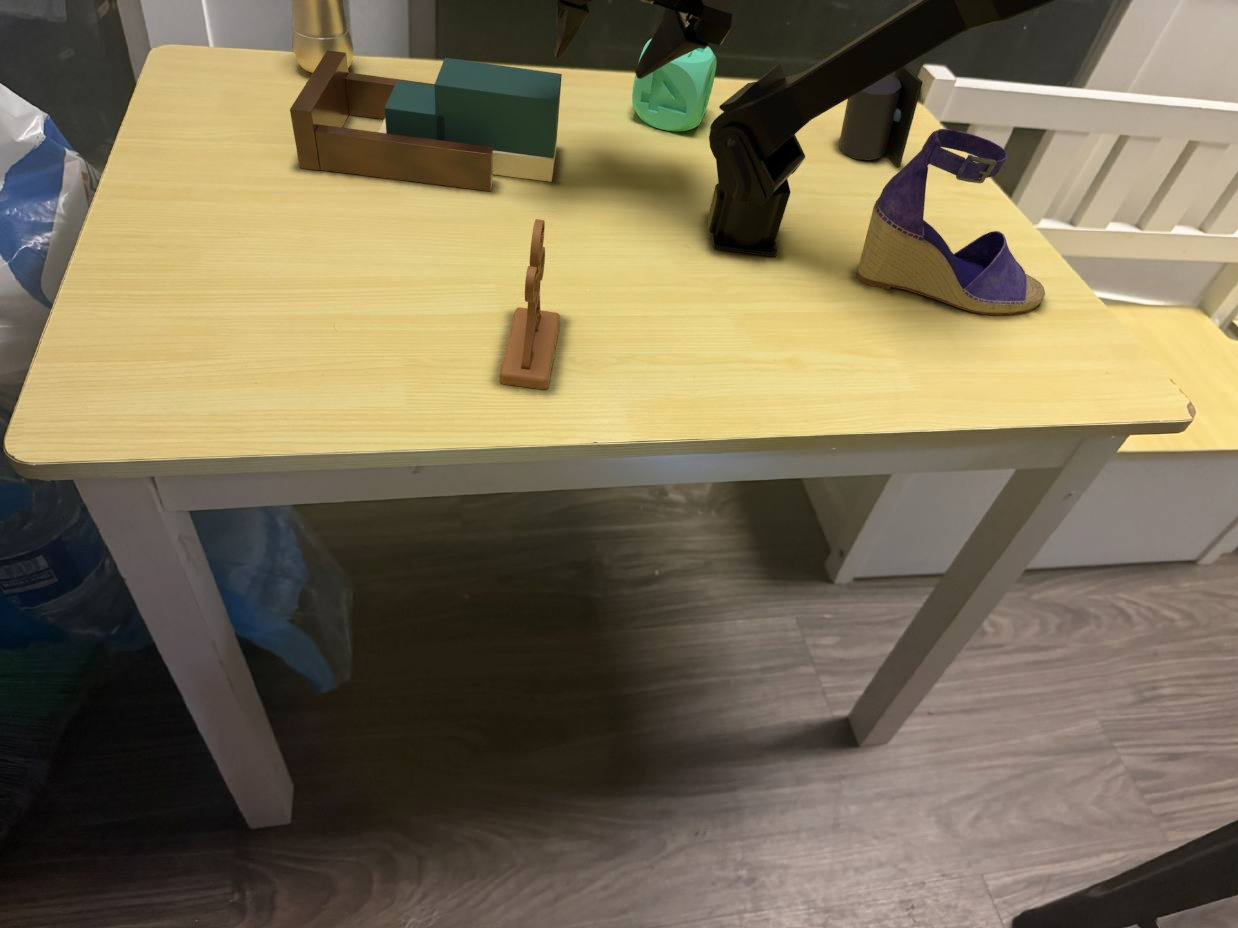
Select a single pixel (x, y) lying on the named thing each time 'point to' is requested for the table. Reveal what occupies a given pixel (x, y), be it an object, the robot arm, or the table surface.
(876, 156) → the speaker
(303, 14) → the gold rounded cylinder
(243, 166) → the table surface
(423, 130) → the teal stepped block
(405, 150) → the wooden bed frame
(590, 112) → the table surface
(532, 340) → the gingerbread man figurine
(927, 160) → the sandal
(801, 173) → the table surface
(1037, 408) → the table surface
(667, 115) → the decorative dice
